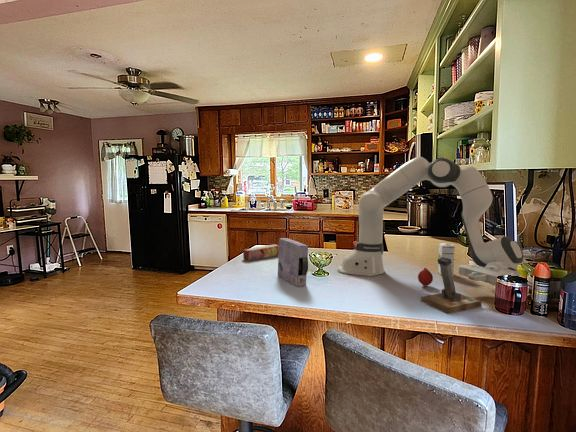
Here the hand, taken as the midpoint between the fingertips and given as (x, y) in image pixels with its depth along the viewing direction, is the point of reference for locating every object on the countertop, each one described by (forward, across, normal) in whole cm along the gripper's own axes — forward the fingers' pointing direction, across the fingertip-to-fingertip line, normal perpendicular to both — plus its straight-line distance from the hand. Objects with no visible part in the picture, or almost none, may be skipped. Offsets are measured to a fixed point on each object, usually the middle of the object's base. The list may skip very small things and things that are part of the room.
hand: (471, 277), depth 124 cm
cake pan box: (+51, -47, +9) cm, 70 cm away
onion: (+3, -19, +9) cm, 21 cm away
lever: (+10, 0, +5) cm, 11 cm away
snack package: (+50, -93, +9) cm, 106 cm away
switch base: (+10, 0, +9) cm, 13 cm away
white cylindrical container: (-20, -29, +9) cm, 36 cm away
